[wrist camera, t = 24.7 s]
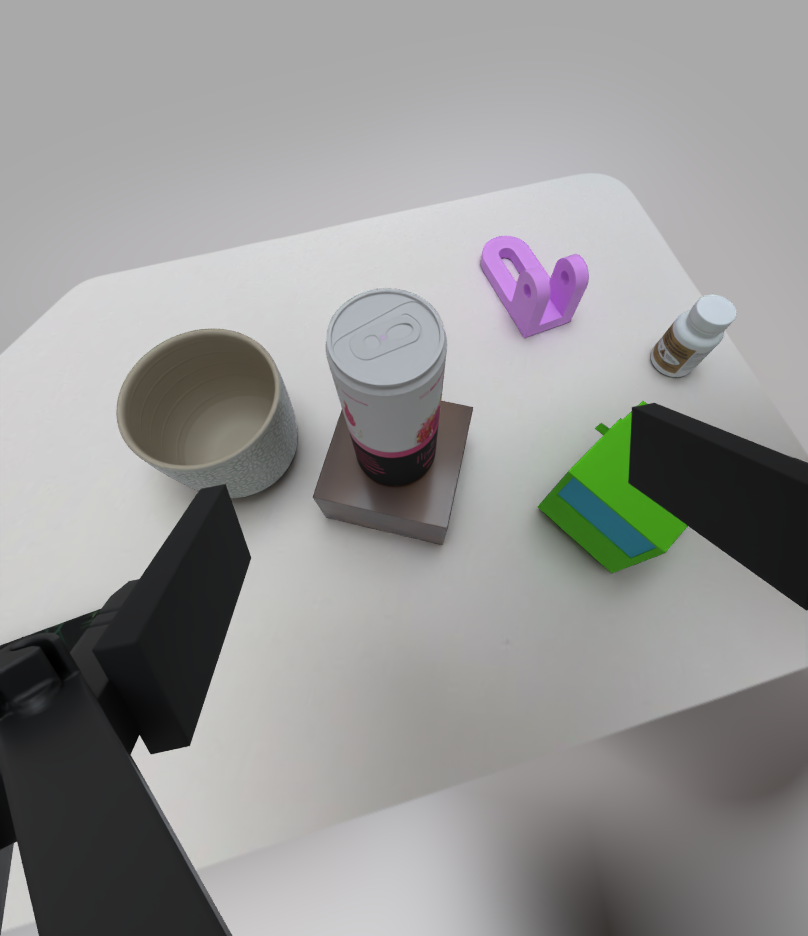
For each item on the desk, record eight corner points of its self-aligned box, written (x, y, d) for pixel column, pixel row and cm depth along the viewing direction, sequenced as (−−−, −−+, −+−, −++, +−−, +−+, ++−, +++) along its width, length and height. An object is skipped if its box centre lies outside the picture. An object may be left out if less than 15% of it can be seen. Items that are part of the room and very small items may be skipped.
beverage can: (449, 468, 37) (470, 358, 23) (375, 500, 36) (351, 407, 22) (414, 404, 39) (415, 270, 25) (344, 433, 38) (305, 311, 25)
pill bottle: (641, 350, 48) (681, 297, 41) (677, 338, 49) (723, 284, 41) (664, 384, 47) (709, 335, 39) (701, 370, 47) (753, 320, 40)
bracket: (570, 321, 50) (593, 272, 43) (524, 338, 49) (541, 290, 43) (515, 240, 54) (529, 184, 48) (472, 254, 54) (480, 199, 47)
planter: (162, 440, 45) (90, 380, 35) (270, 376, 48) (231, 303, 38) (220, 539, 41) (158, 503, 31) (334, 464, 44) (310, 408, 34)
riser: (465, 437, 45) (473, 407, 39) (442, 545, 41) (447, 528, 35) (358, 414, 46) (350, 382, 40) (325, 517, 42) (312, 497, 36)
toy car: (702, 483, 42) (783, 437, 33) (615, 584, 39) (678, 564, 30) (613, 414, 45) (664, 353, 36) (525, 502, 42) (557, 461, 33)
